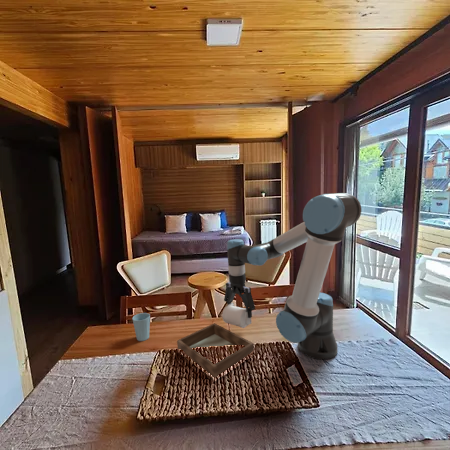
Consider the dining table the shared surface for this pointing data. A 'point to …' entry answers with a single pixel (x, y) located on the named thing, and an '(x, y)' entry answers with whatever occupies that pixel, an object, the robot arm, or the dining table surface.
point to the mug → (234, 316)
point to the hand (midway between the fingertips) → (239, 320)
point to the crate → (214, 337)
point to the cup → (142, 326)
